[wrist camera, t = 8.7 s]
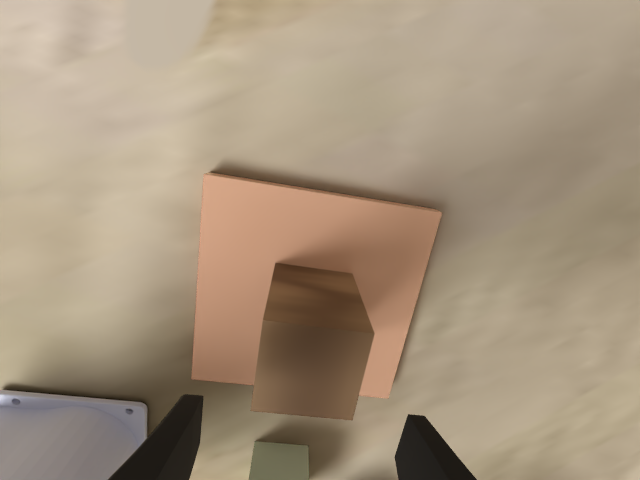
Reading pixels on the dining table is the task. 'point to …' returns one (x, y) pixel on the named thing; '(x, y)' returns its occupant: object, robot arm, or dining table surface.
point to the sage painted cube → (279, 462)
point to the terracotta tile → (308, 251)
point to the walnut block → (312, 344)
